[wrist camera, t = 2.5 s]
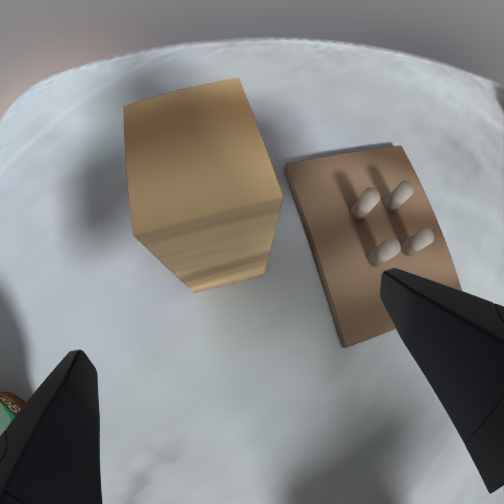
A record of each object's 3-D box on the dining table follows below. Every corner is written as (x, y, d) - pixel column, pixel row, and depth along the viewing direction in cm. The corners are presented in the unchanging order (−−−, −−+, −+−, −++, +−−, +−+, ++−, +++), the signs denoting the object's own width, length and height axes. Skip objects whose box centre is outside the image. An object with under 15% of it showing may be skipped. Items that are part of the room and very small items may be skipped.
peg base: (456, 298, 21) (486, 289, 17) (342, 347, 20) (362, 347, 16) (396, 151, 25) (414, 125, 21) (284, 170, 24) (290, 140, 20)
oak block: (264, 274, 21) (282, 196, 10) (194, 292, 21) (133, 234, 9) (242, 198, 23) (238, 77, 11) (177, 215, 23) (123, 106, 11)
